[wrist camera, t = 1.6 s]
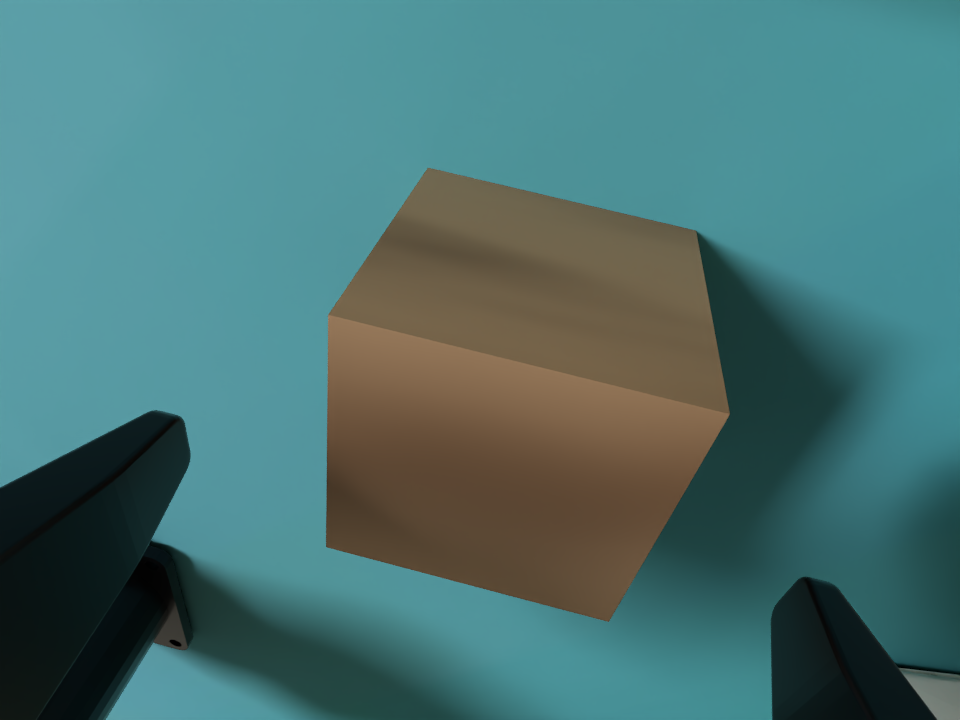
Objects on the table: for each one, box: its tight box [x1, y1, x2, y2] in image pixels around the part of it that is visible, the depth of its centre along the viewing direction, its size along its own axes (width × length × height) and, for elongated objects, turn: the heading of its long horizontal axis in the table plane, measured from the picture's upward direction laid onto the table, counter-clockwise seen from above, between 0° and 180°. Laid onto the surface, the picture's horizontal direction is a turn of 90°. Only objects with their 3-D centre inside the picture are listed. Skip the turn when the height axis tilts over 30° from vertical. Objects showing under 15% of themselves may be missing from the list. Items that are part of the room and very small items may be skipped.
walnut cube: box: [326, 168, 730, 622], centre depth 11 cm, size 5×5×5 cm
